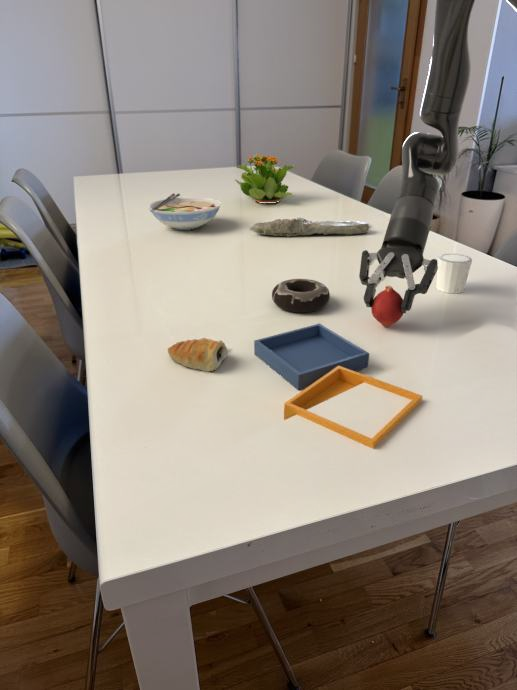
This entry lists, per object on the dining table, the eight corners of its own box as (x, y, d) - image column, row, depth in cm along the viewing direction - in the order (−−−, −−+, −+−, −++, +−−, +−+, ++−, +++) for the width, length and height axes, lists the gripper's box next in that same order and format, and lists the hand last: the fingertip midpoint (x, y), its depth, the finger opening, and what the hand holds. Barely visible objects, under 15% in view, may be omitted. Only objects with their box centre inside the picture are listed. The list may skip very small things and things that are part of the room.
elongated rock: (371, 241, 151) (364, 234, 160) (373, 222, 149) (366, 217, 158) (253, 236, 149) (252, 230, 159) (253, 218, 147) (253, 212, 156)
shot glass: (456, 296, 107) (462, 264, 104) (427, 288, 112) (431, 257, 109) (472, 288, 111) (478, 257, 108) (443, 281, 116) (448, 250, 113)
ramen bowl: (211, 239, 150) (209, 210, 147) (137, 236, 154) (134, 208, 150) (230, 219, 172) (229, 194, 169) (165, 217, 176) (163, 193, 172)
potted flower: (311, 204, 193) (313, 154, 185) (258, 212, 182) (257, 160, 174) (275, 194, 212) (275, 149, 204) (224, 200, 201) (222, 153, 193)
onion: (384, 317, 98) (388, 277, 95) (408, 327, 94) (414, 286, 90) (363, 325, 95) (366, 284, 92) (387, 335, 91) (392, 293, 87)
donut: (275, 292, 111) (276, 274, 109) (330, 295, 109) (331, 277, 107) (267, 313, 100) (267, 294, 99) (327, 317, 99) (328, 297, 97)
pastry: (161, 366, 82) (158, 344, 80) (179, 348, 88) (177, 327, 86) (215, 374, 80) (214, 352, 78) (230, 355, 85) (230, 334, 84)
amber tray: (337, 380, 77) (338, 365, 76) (419, 411, 70) (422, 395, 69) (283, 419, 69) (284, 403, 67) (371, 460, 61) (373, 442, 60)
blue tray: (319, 336, 91) (319, 323, 90) (368, 367, 81) (369, 353, 80) (254, 354, 85) (253, 340, 84) (298, 390, 75) (298, 375, 74)
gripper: (368, 212, 95) (342, 293, 91) (448, 219, 89) (425, 306, 85) (373, 233, 102) (350, 310, 98) (449, 242, 96) (427, 324, 92)
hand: (385, 308), depth 91 cm, fingers closed on onion, 5 cm apart
